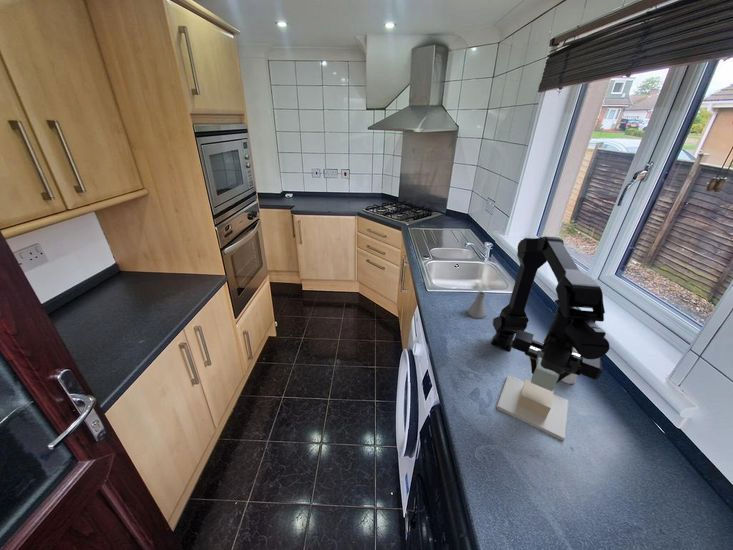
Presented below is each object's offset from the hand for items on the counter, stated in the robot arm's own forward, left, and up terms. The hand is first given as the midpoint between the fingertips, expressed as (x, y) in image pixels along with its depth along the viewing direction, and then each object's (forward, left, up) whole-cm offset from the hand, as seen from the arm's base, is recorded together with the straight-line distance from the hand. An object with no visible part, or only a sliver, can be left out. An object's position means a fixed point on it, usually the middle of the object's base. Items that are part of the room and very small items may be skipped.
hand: (543, 377), depth 78 cm
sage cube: (0, 0, -1) cm, 1 cm away
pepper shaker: (-18, +7, -11) cm, 22 cm away
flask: (-36, -26, -11) cm, 46 cm away
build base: (0, 0, -11) cm, 11 cm away
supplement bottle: (-27, +1, -11) cm, 29 cm away
